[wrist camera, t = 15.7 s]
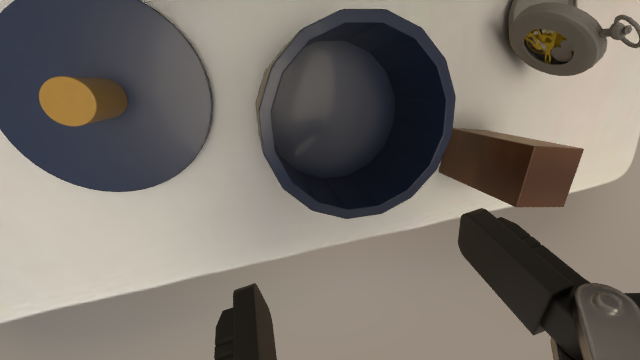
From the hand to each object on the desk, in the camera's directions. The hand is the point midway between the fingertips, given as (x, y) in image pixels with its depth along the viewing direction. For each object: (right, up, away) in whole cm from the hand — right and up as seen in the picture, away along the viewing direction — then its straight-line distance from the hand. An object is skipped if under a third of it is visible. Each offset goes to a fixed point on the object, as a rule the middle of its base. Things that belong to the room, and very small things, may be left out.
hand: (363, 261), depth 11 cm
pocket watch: (+17, +17, +16) cm, 29 cm away
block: (+12, +6, +18) cm, 23 cm away
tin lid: (-16, +9, +9) cm, 21 cm away
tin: (-1, +9, +14) cm, 16 cm away
